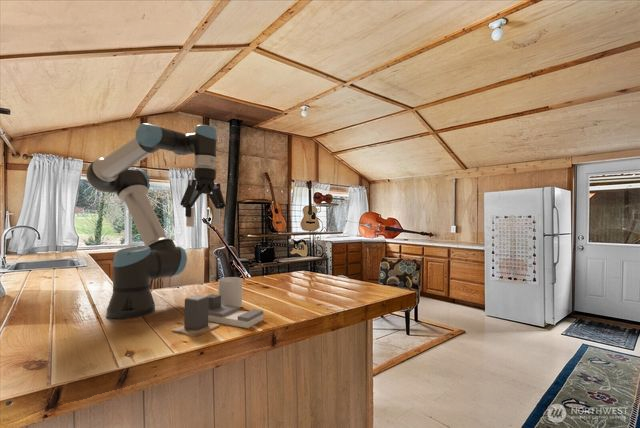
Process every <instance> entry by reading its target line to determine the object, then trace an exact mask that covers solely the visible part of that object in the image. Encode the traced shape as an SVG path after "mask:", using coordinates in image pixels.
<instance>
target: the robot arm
mask: <svg viewBox="0 0 640 428" xmlns="http://www.w3.org/2000/svg"><path fill="white" fill-rule="evenodd" d="M217 141H218V137H217V129H216V128H215V127H214V126H211V125H208V124H198V125H196V126H195V127H194V132H193V133H192V132H191V133H184V132H180V131H176V130H172V129H169V128H165V127H163V126H160V125H159V126H158V125H156V124H151V123H146V122H145V123H144V122H143V123H140V124H139V125H138V128H137V129H136V131H135V137H133V138H131V139H130V140H129V141H127V142H125V143H124V144H123V145H121V146H120V147H117V149H116V150H114V151H113V152H111V153H109V154H108V155H106V156H105V157H100V158H99V157H98V158H96V159H95V160H94V161H92V162H91V163H89V165H88V167H87V169H86V172H85V173H86V179H87V181H88V183H89V185H90V186H91V187H93V188H94V189H96V190H97V191H99V192H100V191H101V192H103V193H113V194H116V195H117V197H118V199H119V201H121V202H123V203H125V205H126V207H127V209H128V211H129V213H130V216H131V217H132V220H133V223H134V225H135V227H136V229H137V231H138V233H139V236H140V237H141V240H142V242H143V244H144V245H138V246H129V247H125V248H121V249H119V250H117V251H116V252H115V253H114V255H113V261H112V270H113V271H112V295H111V296H110V299H109V302H108V305H107V308H106V317H108V318H110V319H116V320H118V319H120V320H121V319H123V320H124V319H133V318H139V317H144V316H146V315H149V314H152V313H154V312H155V311H156V303H155V301H154V297H153V295H152V292H151V281H152V280H158V279H163V278H172V277H174V276H178V275H180V274H181V273H182V272H184V270H185V269H186V267H187V261H188V256H187V252H186V250H185V249H184V248H183V247H182V246H180V245H178V246H176V244H175V242H174V240H173V239H172V238H170V237H169V238H168V237H167V234H166V233H165V231H164V228H163V227H162V224H161V223H160V220H159V218H158V216H157V214H156V212H155V209H154V207H153V206H152V204H151V202H150V199H149V198H148V193H149V190H150V187H151V186H150V185H151V184H150V182H151V181H150V177H149V174H148V173H147V172H146V171H145V170H143V169H142V168H138V167H134V166H135V165H136V164H138V163H140V162H141V161H142V160H144V159H146V158H147V157H150V156H151V155H152V154H154V153H156V152H157V151H159V150H164V151H169V152H173V153H174V154H175V155H179V156H180V155H181V156H187V155H194V163H193V165H194V170H193V171H194V173H193V174H194V175H193V179H189V180H188V181H187V182H188V183H187V186H186V189H185V191H184V194H183V196H182V198H181V201H180V206H182V208H185V210H184V211H185V214H184V215H185V217H186V219H185V222H186V224H185V225H186V227H191V228H192V227H194V226H195V225H194V224H195V207H193V206H195V203H197V200H198V199H199V197H200V196H201V195H202V194H203V195H207V196H208V197H209V198H210V200H211V202H212V204H213V206H214V207H215V208H213V226H214V227H215V226H216V227H217V226H218V227H219V226H221V217H222V209H224V208H226V203H225V200H224V199H225V198H224V196H223V194H222V190H221V183H220V182H215V180H217V179H216V178H217V176H216V175H217V170H216V167H217Z"/></svg>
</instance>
